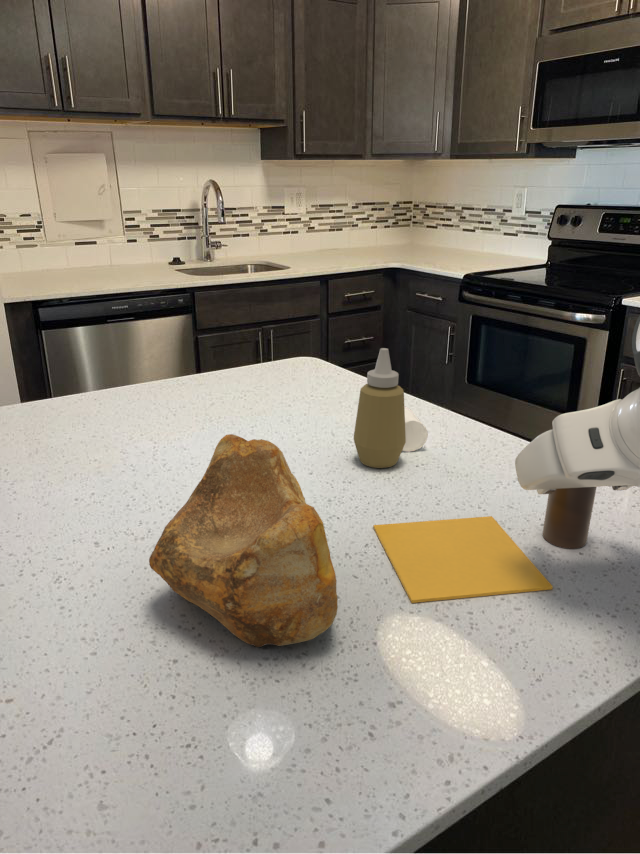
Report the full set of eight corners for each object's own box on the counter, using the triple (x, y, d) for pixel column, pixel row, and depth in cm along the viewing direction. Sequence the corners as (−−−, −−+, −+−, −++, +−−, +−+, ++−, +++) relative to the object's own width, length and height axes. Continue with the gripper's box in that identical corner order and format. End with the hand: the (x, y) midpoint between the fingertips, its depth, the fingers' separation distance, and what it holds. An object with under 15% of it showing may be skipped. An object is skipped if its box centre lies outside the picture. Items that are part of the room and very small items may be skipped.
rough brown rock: (145, 559, 78) (123, 445, 72) (280, 525, 83) (269, 416, 77) (180, 703, 58) (153, 562, 52) (354, 647, 63) (349, 512, 57)
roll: (405, 424, 119) (407, 395, 117) (427, 450, 108) (429, 418, 106) (372, 426, 118) (374, 396, 116) (391, 452, 107) (393, 420, 105)
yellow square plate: (491, 518, 87) (491, 515, 87) (552, 589, 72) (552, 586, 72) (373, 527, 84) (373, 525, 84) (411, 603, 69) (411, 600, 69)
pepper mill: (572, 526, 85) (590, 423, 80) (594, 547, 81) (615, 439, 76) (534, 529, 85) (550, 425, 79) (555, 550, 80) (573, 441, 75)
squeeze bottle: (360, 474, 99) (365, 357, 93) (346, 453, 106) (350, 343, 100) (411, 470, 101) (419, 355, 94) (395, 449, 108) (401, 341, 102)
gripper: (728, 408, 68) (653, 457, 81) (542, 415, 66) (493, 464, 78) (750, 465, 66) (668, 507, 79) (556, 474, 63) (504, 516, 76)
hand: (579, 486), depth 78 cm, fingers open, 8 cm apart
